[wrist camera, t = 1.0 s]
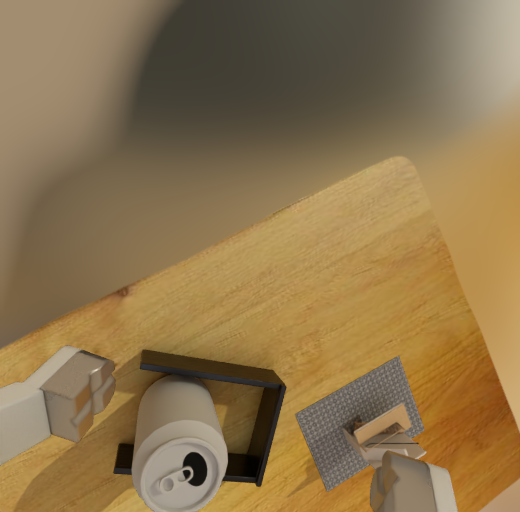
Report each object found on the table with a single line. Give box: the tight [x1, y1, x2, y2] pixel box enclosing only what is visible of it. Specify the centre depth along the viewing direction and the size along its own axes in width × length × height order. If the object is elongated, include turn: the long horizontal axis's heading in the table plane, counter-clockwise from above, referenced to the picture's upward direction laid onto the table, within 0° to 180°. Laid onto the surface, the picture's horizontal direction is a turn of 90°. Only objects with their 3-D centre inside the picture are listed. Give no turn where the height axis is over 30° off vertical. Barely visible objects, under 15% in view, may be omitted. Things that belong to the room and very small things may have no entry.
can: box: [132, 374, 228, 512], centre depth 33 cm, size 8×8×12 cm
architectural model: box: [295, 356, 426, 492], centre depth 42 cm, size 3×7×7 cm, turn 112°
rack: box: [113, 350, 286, 487], centre depth 37 cm, size 15×11×4 cm
